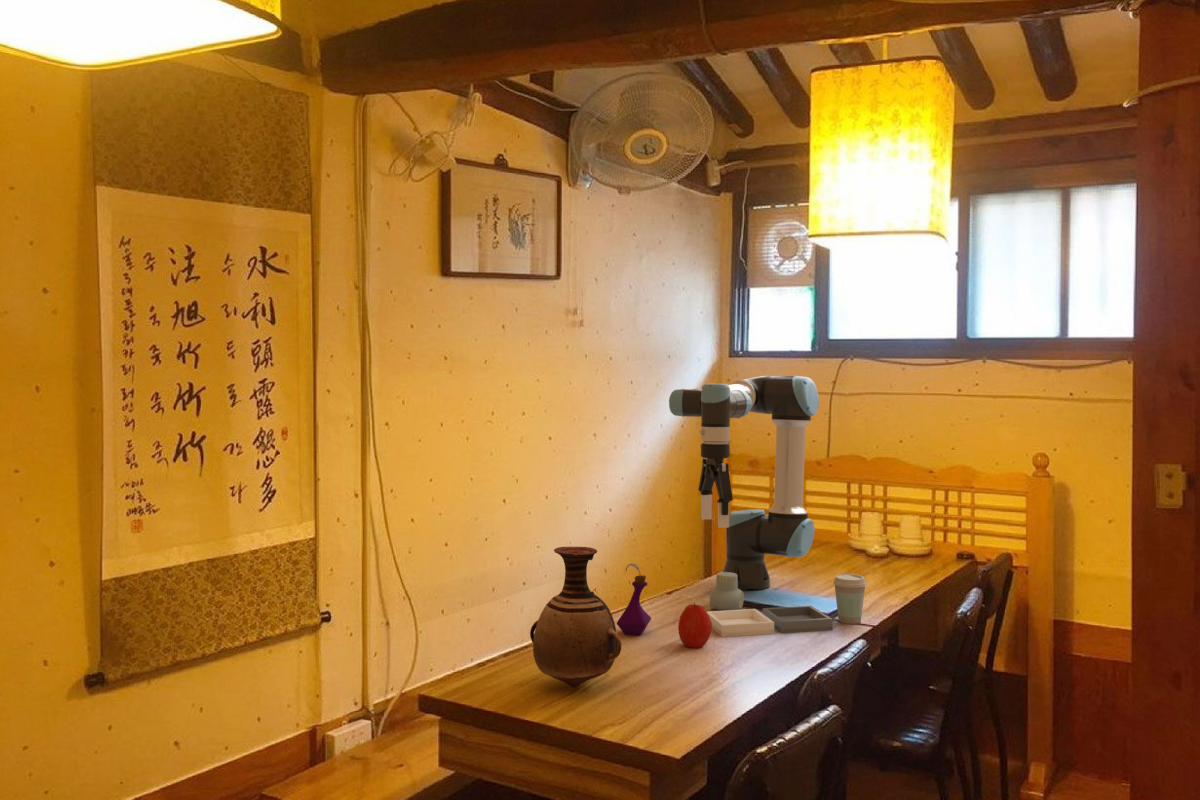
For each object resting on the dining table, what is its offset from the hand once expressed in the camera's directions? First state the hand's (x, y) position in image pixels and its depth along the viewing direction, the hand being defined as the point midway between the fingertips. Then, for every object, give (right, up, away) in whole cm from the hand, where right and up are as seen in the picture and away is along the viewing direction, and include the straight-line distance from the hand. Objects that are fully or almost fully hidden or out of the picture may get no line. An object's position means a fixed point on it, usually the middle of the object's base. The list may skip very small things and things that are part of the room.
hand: (714, 523), depth 270 cm
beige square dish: (+6, -27, -1) cm, 28 cm away
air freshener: (+5, -27, +18) cm, 32 cm away
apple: (-7, -28, -17) cm, 34 cm away
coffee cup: (+37, -27, +5) cm, 46 cm away
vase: (-35, -30, -47) cm, 66 cm away
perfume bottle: (-21, -28, -6) cm, 36 cm away
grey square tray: (+22, -27, +2) cm, 35 cm away
